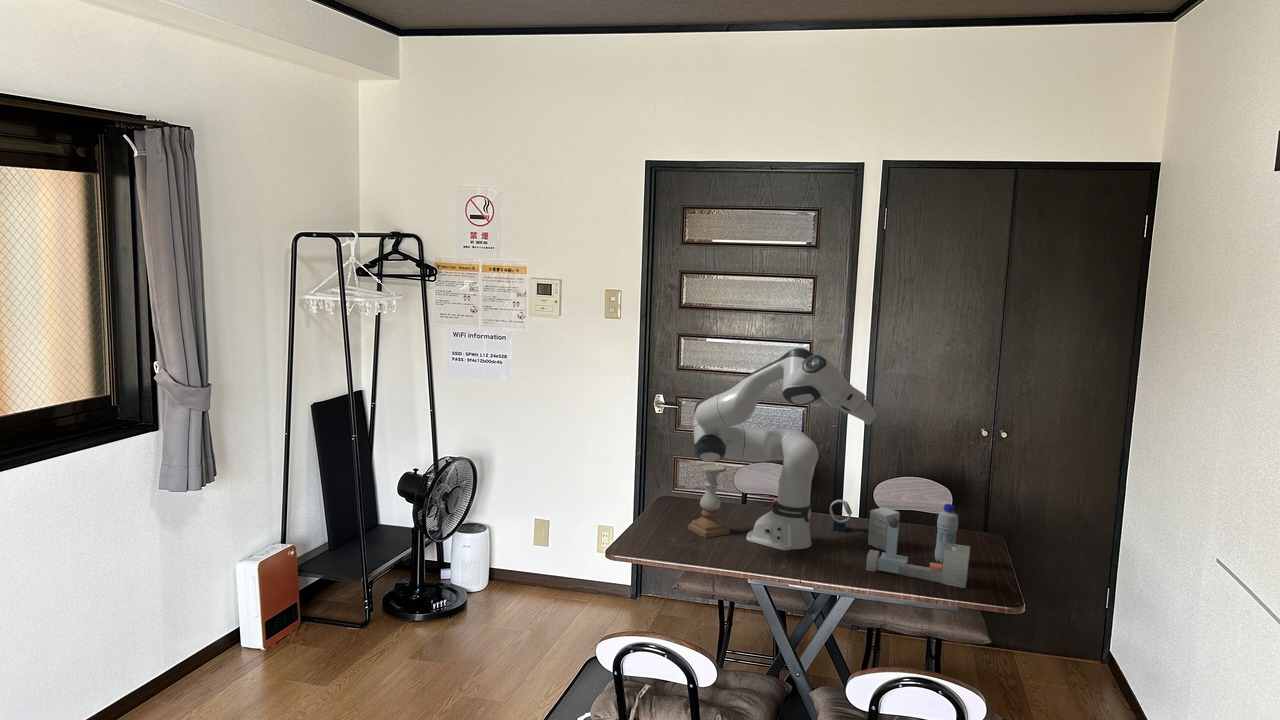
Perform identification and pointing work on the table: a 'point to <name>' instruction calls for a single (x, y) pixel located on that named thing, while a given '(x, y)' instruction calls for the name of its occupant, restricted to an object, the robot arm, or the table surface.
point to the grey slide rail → (951, 574)
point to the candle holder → (709, 505)
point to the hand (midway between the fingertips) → (858, 417)
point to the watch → (840, 523)
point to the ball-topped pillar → (892, 550)
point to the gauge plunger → (936, 566)
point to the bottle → (945, 530)
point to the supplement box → (880, 526)
